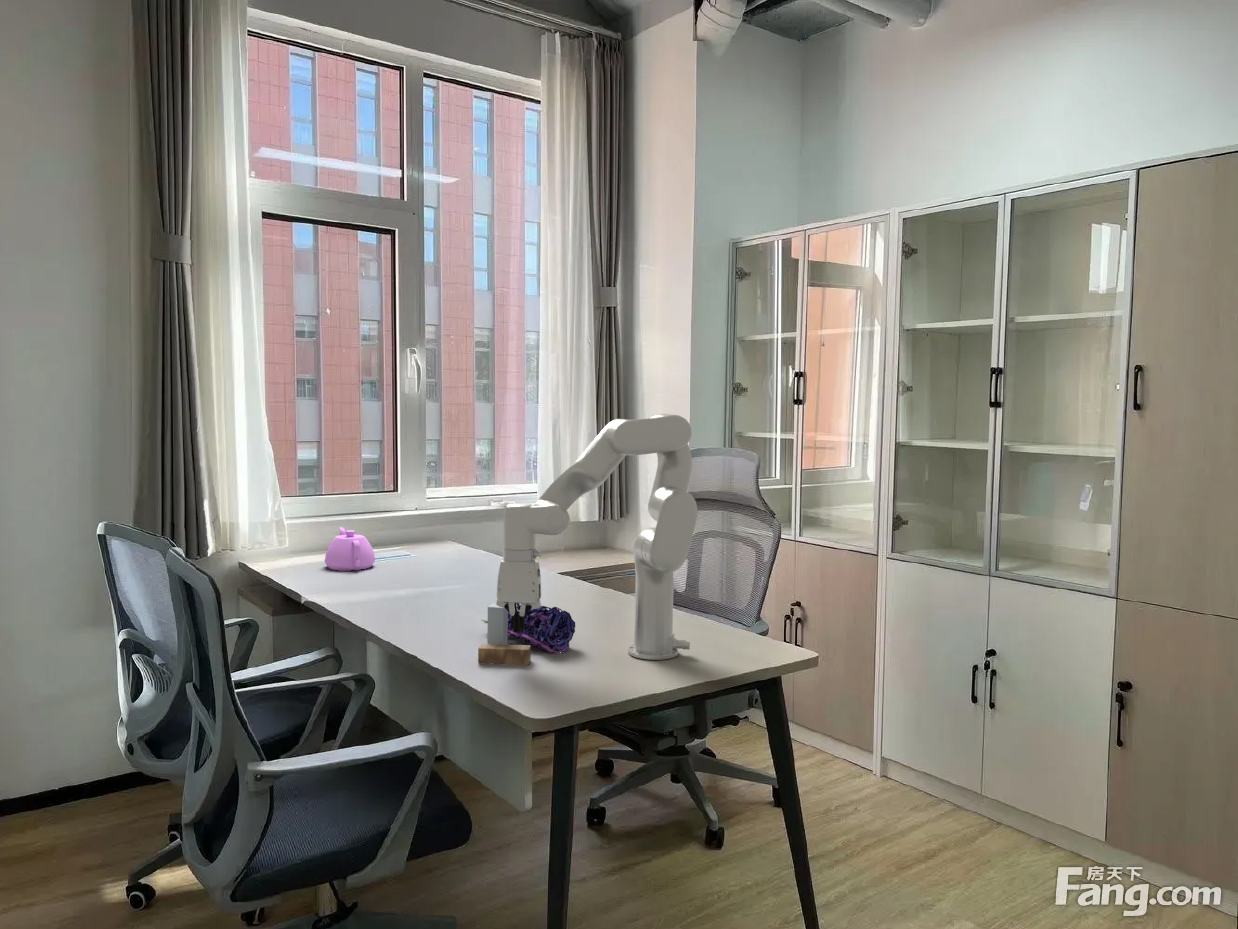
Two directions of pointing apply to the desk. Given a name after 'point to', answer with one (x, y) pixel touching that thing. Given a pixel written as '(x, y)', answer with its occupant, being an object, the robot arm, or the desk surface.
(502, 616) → the grey block
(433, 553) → the desk surface
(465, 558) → the desk surface
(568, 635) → the decorative ornament
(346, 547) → the teapot
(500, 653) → the walnut block
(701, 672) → the desk surface
